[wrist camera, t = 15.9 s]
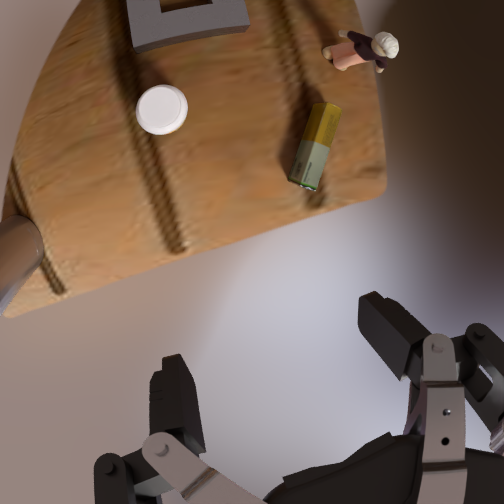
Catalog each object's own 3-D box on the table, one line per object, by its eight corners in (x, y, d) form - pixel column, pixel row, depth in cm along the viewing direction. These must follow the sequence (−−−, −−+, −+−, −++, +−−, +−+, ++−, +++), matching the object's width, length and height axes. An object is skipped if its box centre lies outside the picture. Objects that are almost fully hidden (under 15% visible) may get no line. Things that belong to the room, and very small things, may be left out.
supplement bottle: (135, 121, 30) (119, 118, 22) (160, 85, 29) (152, 69, 20) (171, 142, 32) (166, 145, 24) (195, 106, 31) (199, 97, 23)
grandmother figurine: (312, 55, 31) (364, 33, 20) (321, 36, 30) (373, 11, 19) (354, 83, 34) (413, 75, 23) (362, 64, 33) (421, 53, 22)
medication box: (303, 186, 39) (316, 192, 36) (286, 181, 38) (298, 187, 35) (328, 109, 35) (344, 109, 32) (312, 102, 34) (327, 100, 31)
